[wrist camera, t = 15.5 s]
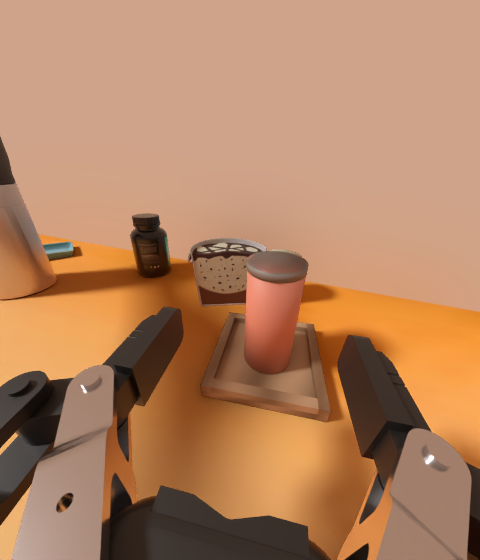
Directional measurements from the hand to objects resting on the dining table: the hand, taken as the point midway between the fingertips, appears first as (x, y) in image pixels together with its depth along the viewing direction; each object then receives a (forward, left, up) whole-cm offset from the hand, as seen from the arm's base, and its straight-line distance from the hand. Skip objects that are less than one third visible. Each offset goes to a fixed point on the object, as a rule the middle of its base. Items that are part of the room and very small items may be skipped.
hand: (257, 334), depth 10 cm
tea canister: (+1, +10, -12) cm, 16 cm away
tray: (+1, +10, -13) cm, 17 cm away
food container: (-7, +23, -13) cm, 28 cm away
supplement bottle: (-25, +29, -13) cm, 41 cm away
